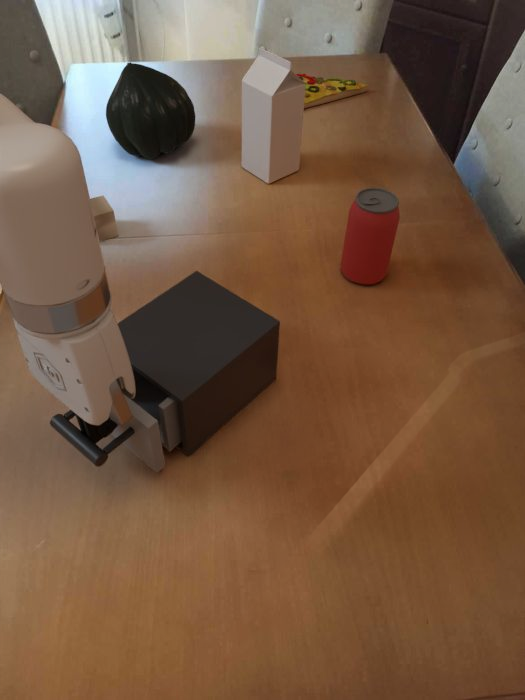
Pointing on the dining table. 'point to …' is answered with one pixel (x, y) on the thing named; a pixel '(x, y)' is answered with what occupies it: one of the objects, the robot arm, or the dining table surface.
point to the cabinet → (203, 353)
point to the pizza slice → (328, 89)
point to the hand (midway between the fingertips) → (100, 431)
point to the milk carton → (271, 117)
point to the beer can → (370, 235)
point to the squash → (149, 112)
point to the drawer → (132, 427)
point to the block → (104, 218)
